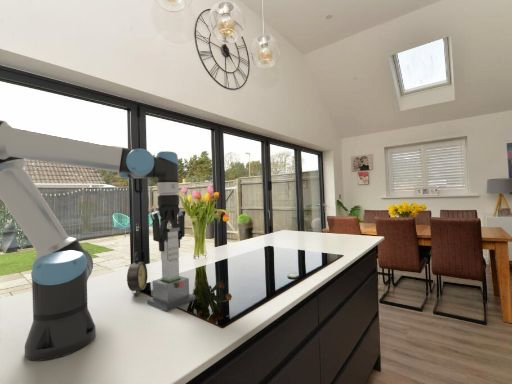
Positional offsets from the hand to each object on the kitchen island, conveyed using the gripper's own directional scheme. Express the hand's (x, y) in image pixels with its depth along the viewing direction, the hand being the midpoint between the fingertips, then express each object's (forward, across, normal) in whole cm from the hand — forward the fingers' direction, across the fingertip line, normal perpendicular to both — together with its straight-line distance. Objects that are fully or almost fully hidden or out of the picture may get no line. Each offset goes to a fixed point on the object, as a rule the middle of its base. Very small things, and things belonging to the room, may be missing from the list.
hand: (170, 258), depth 96 cm
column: (+8, 0, 0) cm, 8 cm away
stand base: (+16, 0, 0) cm, 16 cm away
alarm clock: (+16, -2, +20) cm, 26 cm away
